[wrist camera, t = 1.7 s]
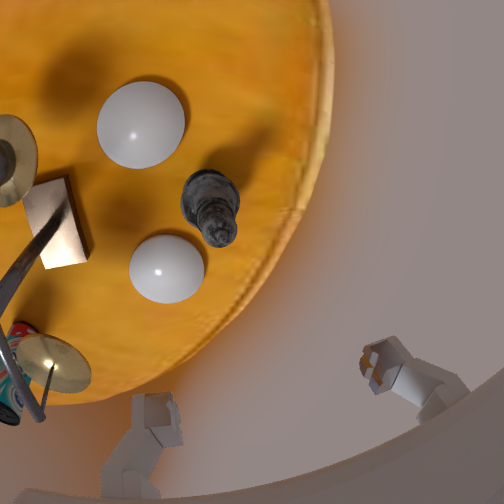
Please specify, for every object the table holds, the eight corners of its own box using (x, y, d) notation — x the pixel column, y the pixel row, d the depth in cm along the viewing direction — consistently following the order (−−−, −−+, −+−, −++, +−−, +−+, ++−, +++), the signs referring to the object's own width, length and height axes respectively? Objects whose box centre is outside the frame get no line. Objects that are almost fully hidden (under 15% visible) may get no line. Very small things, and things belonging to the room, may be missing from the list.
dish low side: (94, 92, 24) (92, 92, 23) (180, 75, 25) (180, 74, 24) (106, 174, 28) (104, 176, 27) (189, 159, 30) (189, 160, 29)
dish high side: (122, 241, 32) (120, 245, 31) (198, 228, 34) (198, 231, 33) (140, 303, 37) (140, 308, 36) (208, 292, 38) (209, 296, 37)
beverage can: (48, 348, 36) (27, 428, 24) (20, 347, 35) (-5, 422, 22) (35, 320, 34) (5, 402, 21) (6, 319, 32) (-28, 395, 20)
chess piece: (239, 172, 32) (272, 210, 22) (226, 221, 34) (250, 279, 24) (186, 162, 30) (191, 195, 20) (175, 213, 32) (176, 270, 22)
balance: (6, 121, 22) (-124, 168, 5) (64, 99, 23) (-65, 116, 6) (65, 315, 35) (31, 442, 18) (116, 308, 36) (99, 447, 19)
